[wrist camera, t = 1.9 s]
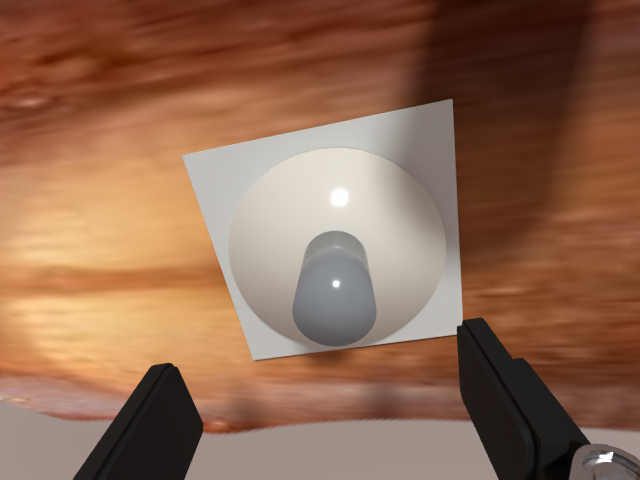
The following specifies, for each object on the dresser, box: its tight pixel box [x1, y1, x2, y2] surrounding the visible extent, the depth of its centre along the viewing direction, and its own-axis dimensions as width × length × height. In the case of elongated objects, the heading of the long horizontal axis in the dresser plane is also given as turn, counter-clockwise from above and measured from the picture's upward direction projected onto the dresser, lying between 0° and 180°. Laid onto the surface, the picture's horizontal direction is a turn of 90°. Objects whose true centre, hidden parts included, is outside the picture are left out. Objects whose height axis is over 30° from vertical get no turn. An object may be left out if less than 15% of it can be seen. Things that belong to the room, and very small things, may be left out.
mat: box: [182, 99, 463, 360], centre depth 19 cm, size 14×14×1 cm
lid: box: [228, 147, 446, 347], centre depth 16 cm, size 12×12×6 cm
